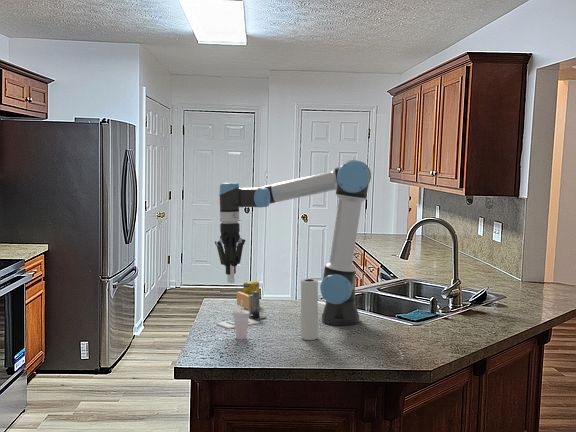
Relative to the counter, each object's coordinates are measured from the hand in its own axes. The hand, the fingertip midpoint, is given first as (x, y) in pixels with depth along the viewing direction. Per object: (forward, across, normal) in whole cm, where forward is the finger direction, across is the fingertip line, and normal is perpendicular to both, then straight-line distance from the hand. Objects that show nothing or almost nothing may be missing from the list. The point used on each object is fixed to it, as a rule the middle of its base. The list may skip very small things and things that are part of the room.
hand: (230, 282), depth 258 cm
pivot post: (+17, +14, +4) cm, 22 cm away
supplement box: (+17, +26, +24) cm, 39 cm away
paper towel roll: (+17, +12, -34) cm, 40 cm away
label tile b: (+17, -1, 0) cm, 17 cm away
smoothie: (+17, -8, -19) cm, 27 cm away
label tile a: (+17, +7, 0) cm, 18 cm away
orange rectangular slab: (+16, +16, +14) cm, 26 cm away
